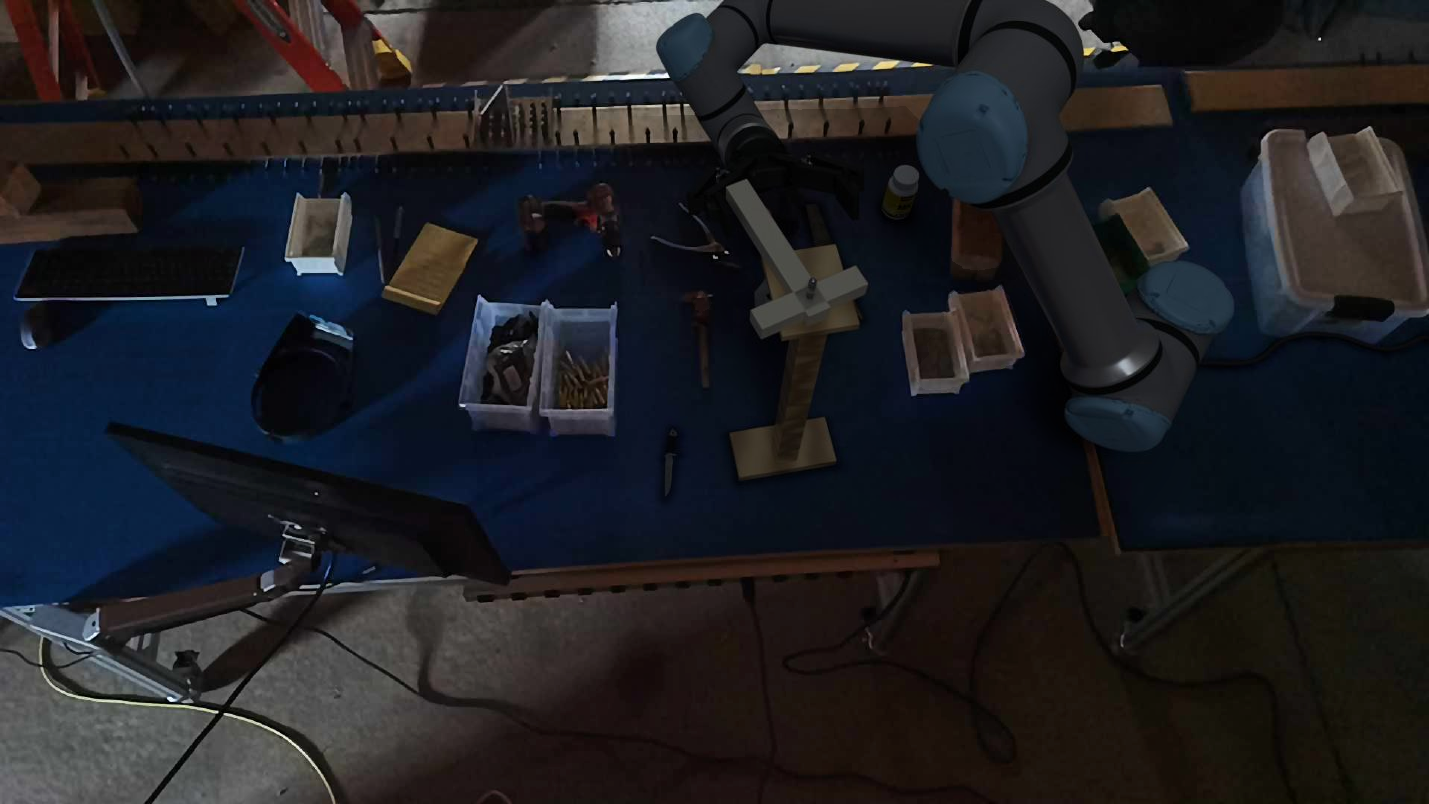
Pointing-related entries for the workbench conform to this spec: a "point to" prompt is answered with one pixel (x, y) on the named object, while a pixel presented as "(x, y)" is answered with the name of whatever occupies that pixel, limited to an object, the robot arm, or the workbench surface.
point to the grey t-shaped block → (788, 271)
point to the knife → (669, 460)
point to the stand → (796, 386)
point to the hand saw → (821, 234)
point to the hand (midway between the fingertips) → (793, 217)
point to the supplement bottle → (900, 192)
